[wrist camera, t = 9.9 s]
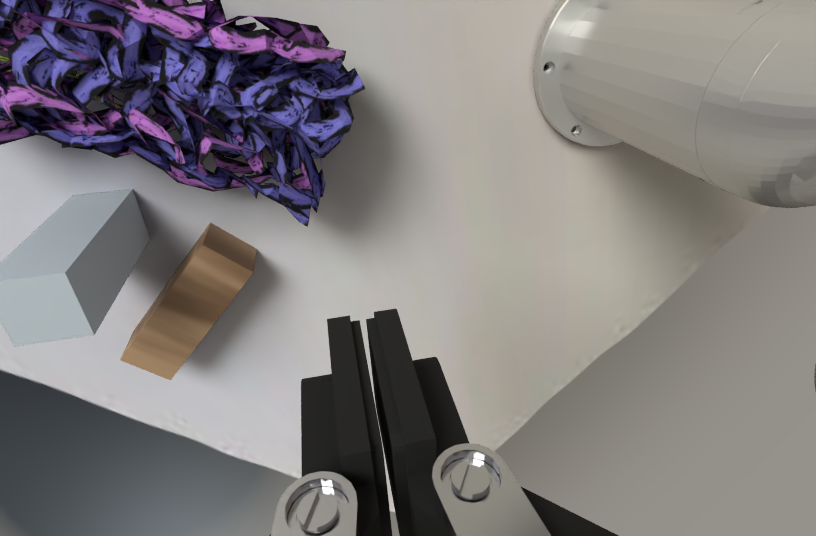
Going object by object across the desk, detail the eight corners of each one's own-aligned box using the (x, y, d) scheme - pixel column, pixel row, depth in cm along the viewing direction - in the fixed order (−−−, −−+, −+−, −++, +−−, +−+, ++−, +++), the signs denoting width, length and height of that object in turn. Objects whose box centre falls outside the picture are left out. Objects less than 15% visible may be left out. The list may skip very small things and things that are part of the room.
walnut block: (202, 244, 34) (120, 360, 38) (253, 272, 36) (170, 380, 39) (211, 221, 38) (134, 328, 41) (257, 247, 39) (180, 348, 43)
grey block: (132, 189, 35) (65, 272, 25) (150, 238, 37) (94, 335, 27) (72, 195, 35) (-23, 283, 24) (93, 245, 37) (14, 346, 26)
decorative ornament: (308, 272, 33) (-346, 94, 22) (315, 179, 40) (-170, 10, 29) (396, 102, 25) (-577, -325, 14) (384, 26, 32) (-251, -293, 21)
